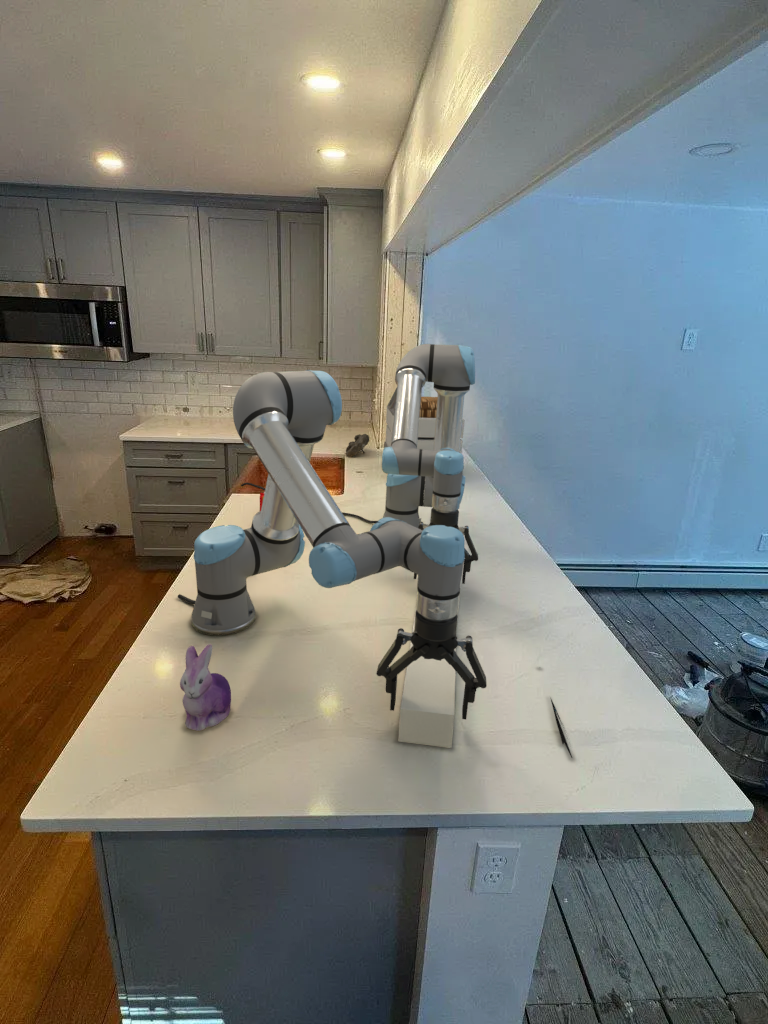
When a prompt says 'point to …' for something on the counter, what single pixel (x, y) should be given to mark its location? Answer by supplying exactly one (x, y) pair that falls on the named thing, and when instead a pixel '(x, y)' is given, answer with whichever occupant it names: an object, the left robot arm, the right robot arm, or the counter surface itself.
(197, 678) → the figurine
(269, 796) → the counter surface
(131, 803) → the counter surface
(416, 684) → the thick board
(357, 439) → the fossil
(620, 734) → the counter surface
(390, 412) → the white slatted box
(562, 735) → the feather
